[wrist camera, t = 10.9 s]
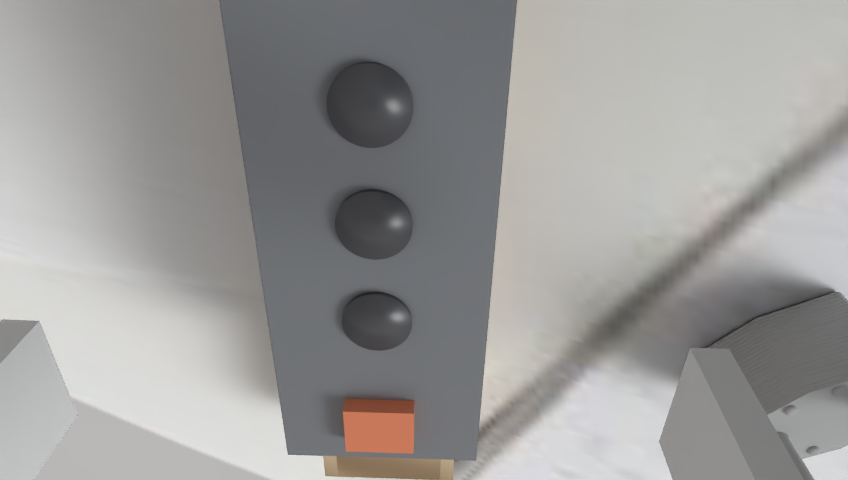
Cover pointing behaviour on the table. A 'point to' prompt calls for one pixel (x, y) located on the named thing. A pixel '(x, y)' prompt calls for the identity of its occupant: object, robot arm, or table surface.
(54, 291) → the table surface
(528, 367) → the table surface
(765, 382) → the padlock
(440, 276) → the power strip
